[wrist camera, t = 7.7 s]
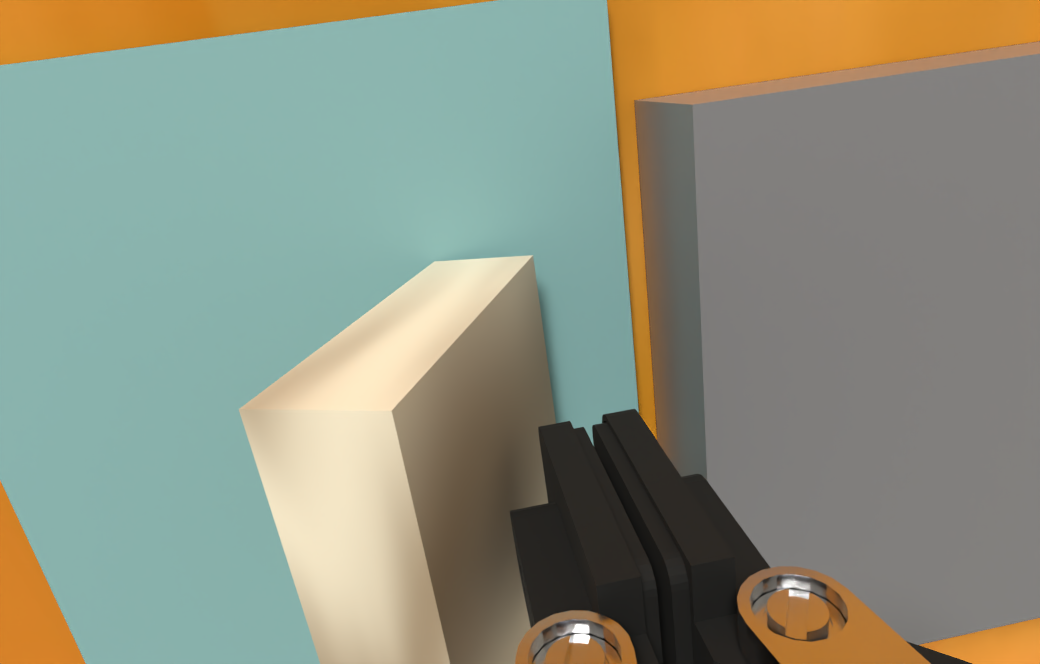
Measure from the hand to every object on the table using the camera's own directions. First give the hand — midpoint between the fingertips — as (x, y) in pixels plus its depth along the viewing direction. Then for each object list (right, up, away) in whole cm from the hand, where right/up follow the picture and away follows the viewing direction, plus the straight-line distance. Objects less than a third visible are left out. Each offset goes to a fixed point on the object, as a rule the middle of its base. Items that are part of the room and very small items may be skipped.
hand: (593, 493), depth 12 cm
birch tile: (-1, -1, 0) cm, 1 cm away
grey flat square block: (+7, +3, +4) cm, 9 cm away
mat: (-5, 0, +3) cm, 6 cm away
